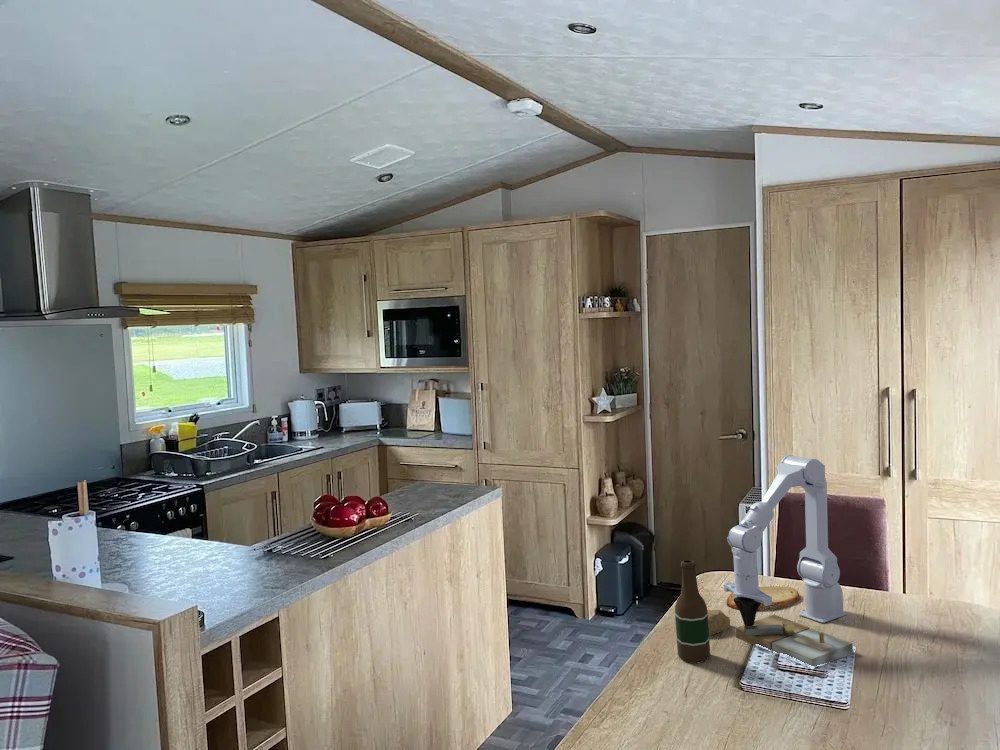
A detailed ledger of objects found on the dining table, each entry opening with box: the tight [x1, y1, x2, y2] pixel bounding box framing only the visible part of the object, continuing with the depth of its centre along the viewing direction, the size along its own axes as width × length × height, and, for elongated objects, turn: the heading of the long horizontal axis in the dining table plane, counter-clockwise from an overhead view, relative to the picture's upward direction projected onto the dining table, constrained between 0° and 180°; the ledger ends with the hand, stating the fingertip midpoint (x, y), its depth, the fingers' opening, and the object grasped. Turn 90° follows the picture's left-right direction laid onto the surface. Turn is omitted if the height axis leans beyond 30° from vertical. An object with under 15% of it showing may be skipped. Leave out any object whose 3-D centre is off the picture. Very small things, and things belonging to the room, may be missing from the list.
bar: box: [744, 621, 795, 636], centre depth 201 cm, size 12×3×3 cm, turn 85°
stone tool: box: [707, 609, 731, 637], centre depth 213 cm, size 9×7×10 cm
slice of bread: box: [726, 585, 801, 612], centre depth 231 cm, size 18×18×4 cm
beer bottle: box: [674, 559, 711, 664], centre depth 197 cm, size 8×8×24 cm
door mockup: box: [735, 614, 854, 666], centre depth 200 cm, size 14×24×5 cm, turn 29°
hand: (749, 625), depth 206 cm, fingers closed
